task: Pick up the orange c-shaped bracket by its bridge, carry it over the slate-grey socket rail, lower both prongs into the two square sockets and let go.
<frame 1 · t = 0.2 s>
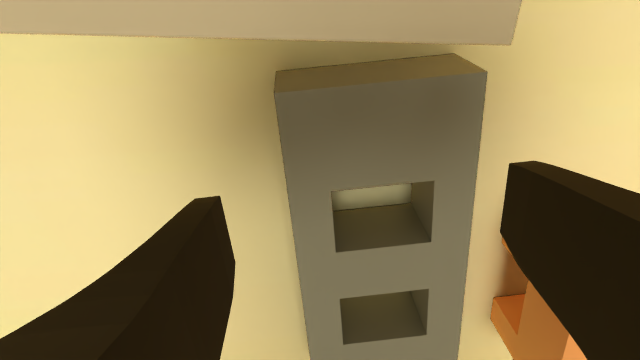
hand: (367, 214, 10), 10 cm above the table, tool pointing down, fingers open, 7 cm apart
orange c-shaped bracket: (522, 268, 25), on the table
socket rail: (370, 229, 23), on the table
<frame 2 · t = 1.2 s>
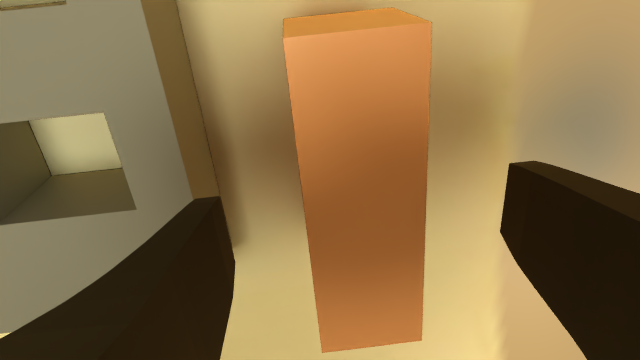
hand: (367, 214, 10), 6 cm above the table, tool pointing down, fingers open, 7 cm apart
orange c-shaped bracket: (337, 129, 16), on the table
socket rail: (64, 47, 14), on the table
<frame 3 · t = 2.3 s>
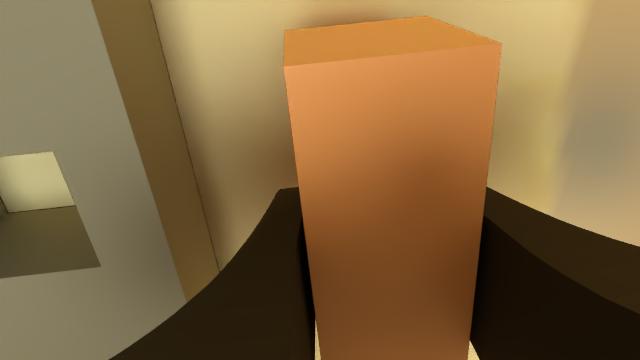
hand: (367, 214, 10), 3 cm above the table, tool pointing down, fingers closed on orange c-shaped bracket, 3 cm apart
orange c-shaped bracket: (349, 158, 14), on the table, touching gripper
socket rail: (16, 63, 11), on the table
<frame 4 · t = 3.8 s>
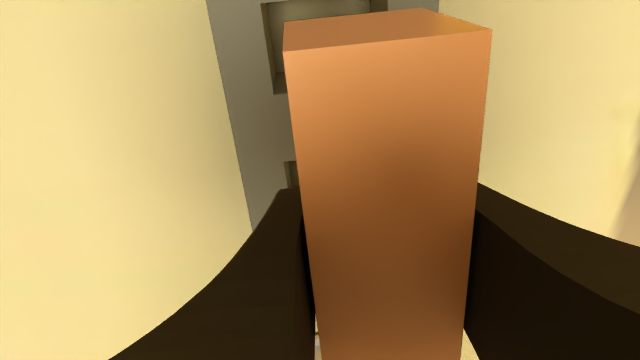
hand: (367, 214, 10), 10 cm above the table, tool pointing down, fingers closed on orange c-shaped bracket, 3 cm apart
orange c-shaped bracket: (347, 150, 14), point 6 cm above the table, touching gripper
socket rail: (326, 98, 20), on the table
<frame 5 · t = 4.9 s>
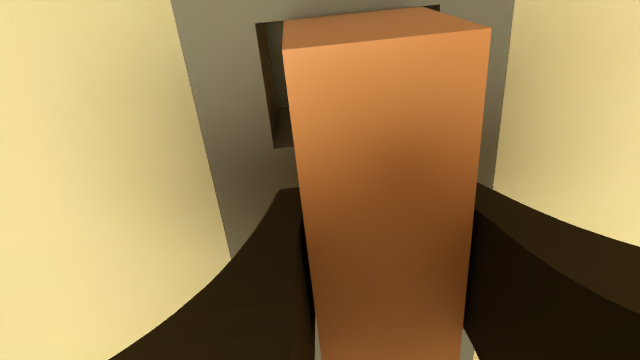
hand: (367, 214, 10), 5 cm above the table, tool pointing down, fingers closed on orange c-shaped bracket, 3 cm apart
orange c-shaped bracket: (347, 149, 14), point 1 cm above the table, touching gripper
socket rail: (342, 140, 15), on the table
when the fingers open (4 cm above the table, at t = 5.4 s): orange c-shaped bracket stays where it is, resting on socket rail.
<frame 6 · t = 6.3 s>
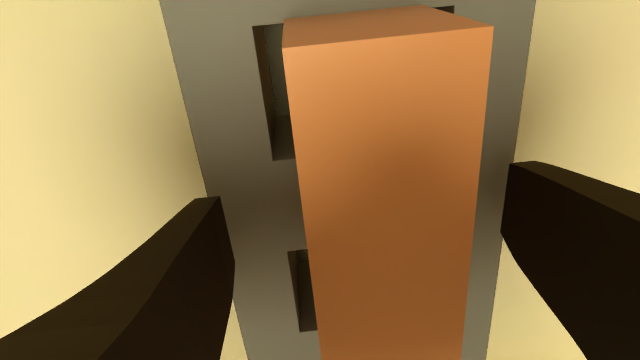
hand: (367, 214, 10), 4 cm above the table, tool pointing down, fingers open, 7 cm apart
orange c-shaped bracket: (347, 149, 14), resting on socket rail
socket rail: (346, 148, 14), on the table
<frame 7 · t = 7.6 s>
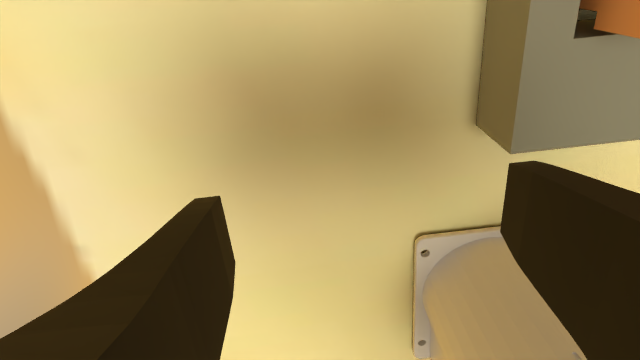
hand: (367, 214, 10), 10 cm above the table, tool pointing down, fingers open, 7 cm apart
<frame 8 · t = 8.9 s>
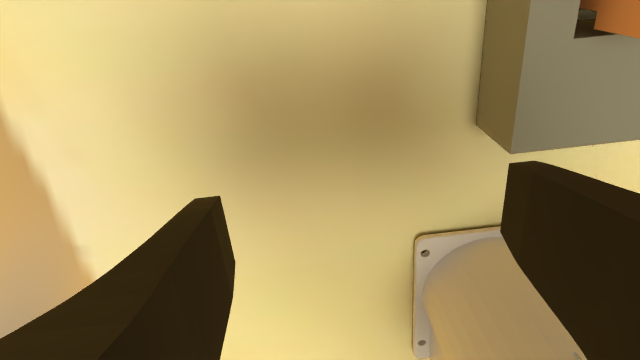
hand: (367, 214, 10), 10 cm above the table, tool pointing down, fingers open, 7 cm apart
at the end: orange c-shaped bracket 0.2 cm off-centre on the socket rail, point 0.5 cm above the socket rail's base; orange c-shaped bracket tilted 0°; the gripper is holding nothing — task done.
